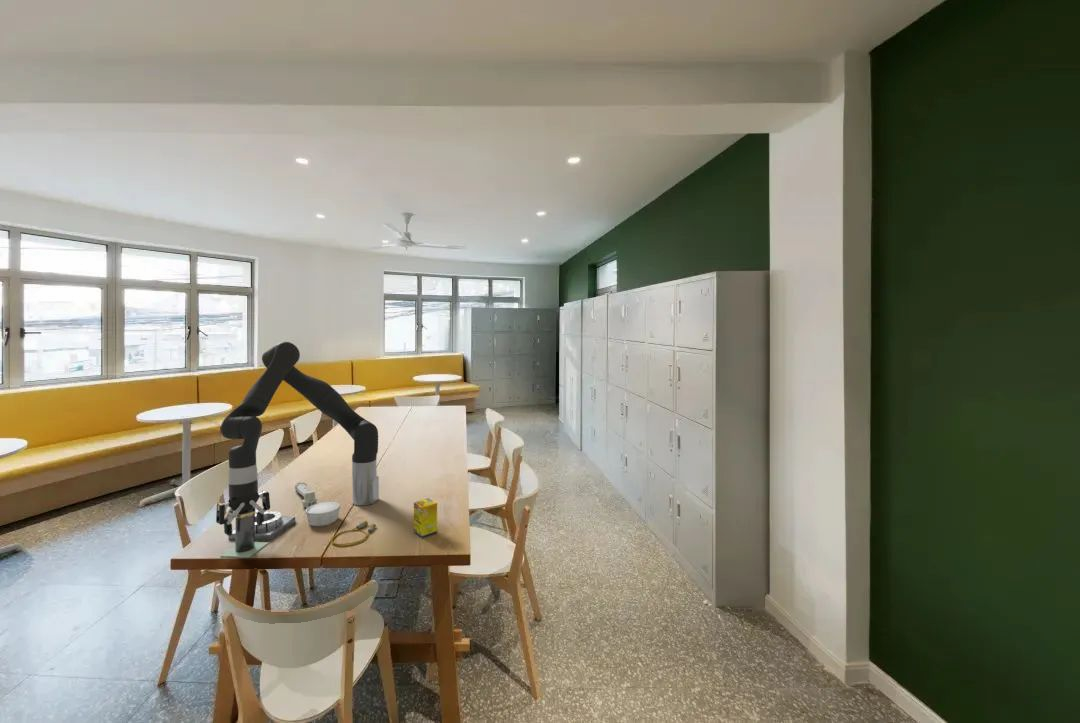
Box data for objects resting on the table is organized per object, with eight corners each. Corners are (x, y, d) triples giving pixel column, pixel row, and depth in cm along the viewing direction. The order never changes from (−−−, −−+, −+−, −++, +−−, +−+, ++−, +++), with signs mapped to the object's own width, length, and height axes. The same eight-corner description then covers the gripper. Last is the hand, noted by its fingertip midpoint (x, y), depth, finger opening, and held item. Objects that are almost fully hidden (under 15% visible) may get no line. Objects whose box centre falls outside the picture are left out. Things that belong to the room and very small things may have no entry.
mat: (268, 543, 139) (268, 542, 139) (249, 557, 130) (249, 556, 130) (241, 542, 139) (241, 541, 139) (220, 556, 130) (220, 555, 130)
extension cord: (385, 534, 147) (385, 529, 147) (339, 551, 135) (339, 545, 135) (368, 524, 155) (368, 518, 155) (323, 539, 143) (323, 533, 143)
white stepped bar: (306, 480, 188) (318, 489, 168) (307, 495, 188) (319, 506, 168) (292, 482, 185) (303, 492, 165) (293, 498, 184) (304, 509, 165)
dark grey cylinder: (250, 543, 138) (250, 506, 138) (257, 547, 136) (258, 510, 135) (232, 549, 134) (232, 511, 134) (239, 553, 131) (240, 515, 131)
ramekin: (303, 519, 157) (303, 505, 157) (336, 512, 164) (336, 499, 164) (308, 531, 148) (308, 516, 148) (343, 522, 155) (343, 508, 155)
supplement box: (413, 532, 148) (413, 502, 147) (428, 527, 152) (428, 497, 152) (421, 538, 144) (421, 507, 143) (437, 533, 148) (437, 502, 147)
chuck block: (295, 522, 155) (295, 510, 155) (269, 540, 141) (269, 527, 141) (257, 520, 155) (257, 509, 155) (228, 539, 142) (228, 526, 141)
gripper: (261, 471, 141) (263, 518, 142) (211, 483, 129) (212, 535, 130) (273, 475, 137) (274, 524, 138) (222, 488, 125) (224, 542, 126)
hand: (244, 529), depth 134 cm, fingers open, 8 cm apart
